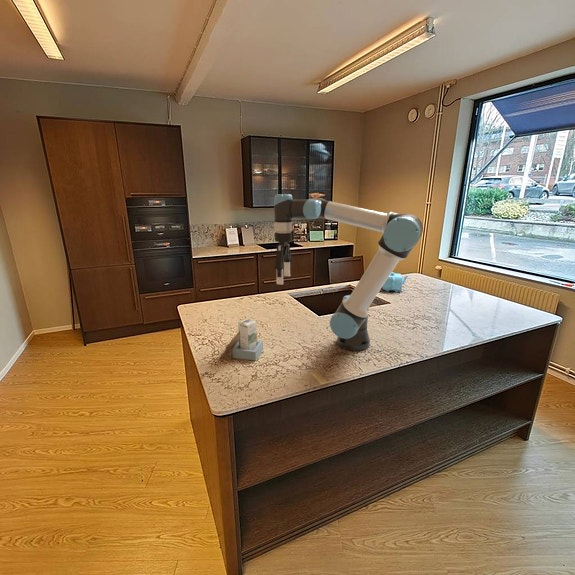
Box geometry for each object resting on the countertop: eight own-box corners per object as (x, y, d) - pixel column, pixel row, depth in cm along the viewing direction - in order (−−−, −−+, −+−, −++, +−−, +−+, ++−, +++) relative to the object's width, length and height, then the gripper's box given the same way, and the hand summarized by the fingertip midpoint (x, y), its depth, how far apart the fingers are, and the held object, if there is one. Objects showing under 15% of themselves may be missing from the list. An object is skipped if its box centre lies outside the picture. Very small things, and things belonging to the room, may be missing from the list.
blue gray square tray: (262, 349, 145) (262, 340, 144) (255, 360, 136) (255, 351, 134) (241, 346, 147) (240, 338, 146) (232, 357, 138) (232, 349, 137)
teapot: (383, 293, 223) (385, 275, 219) (381, 286, 238) (382, 269, 234) (410, 294, 220) (412, 276, 216) (406, 287, 235) (408, 270, 231)
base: (242, 345, 149) (241, 333, 147) (230, 360, 136) (230, 347, 134) (232, 344, 150) (231, 332, 148) (219, 358, 137) (219, 346, 135)
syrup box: (248, 347, 146) (246, 317, 141) (257, 351, 142) (256, 320, 138) (239, 352, 141) (237, 321, 137) (248, 356, 138) (247, 325, 133)
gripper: (281, 228, 149) (282, 272, 155) (266, 235, 126) (267, 287, 132) (297, 228, 147) (297, 273, 154) (285, 236, 124) (285, 288, 130)
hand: (283, 280), depth 143 cm, fingers open, 13 cm apart
